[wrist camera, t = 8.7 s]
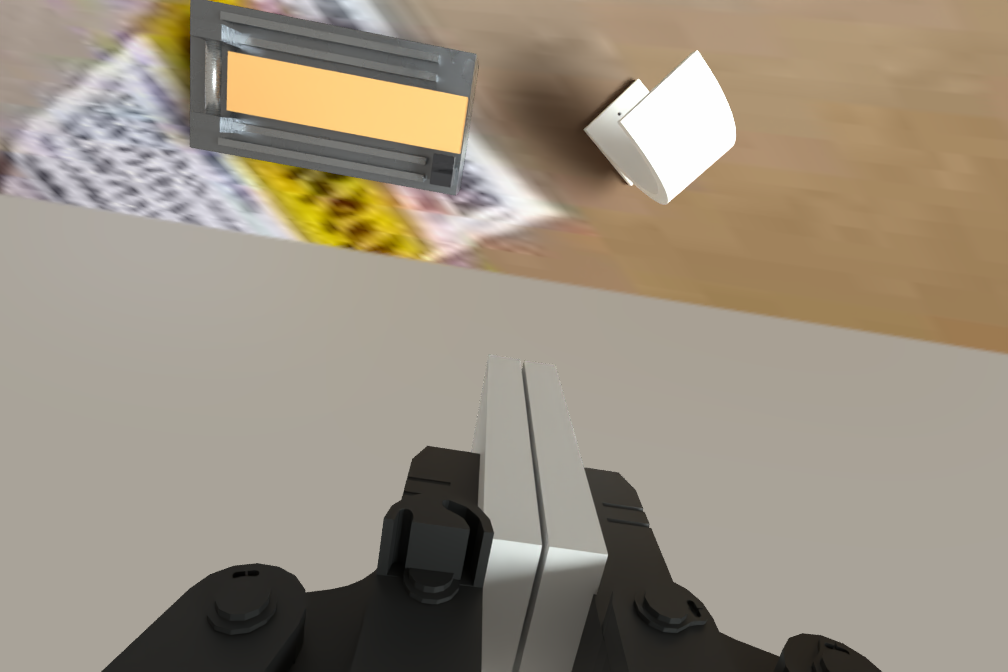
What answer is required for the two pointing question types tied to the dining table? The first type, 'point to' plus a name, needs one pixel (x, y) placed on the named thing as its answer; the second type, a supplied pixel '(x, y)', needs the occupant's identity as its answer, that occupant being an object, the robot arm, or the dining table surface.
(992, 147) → the dining table surface
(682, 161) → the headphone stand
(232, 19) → the block
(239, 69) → the tan flat bar
